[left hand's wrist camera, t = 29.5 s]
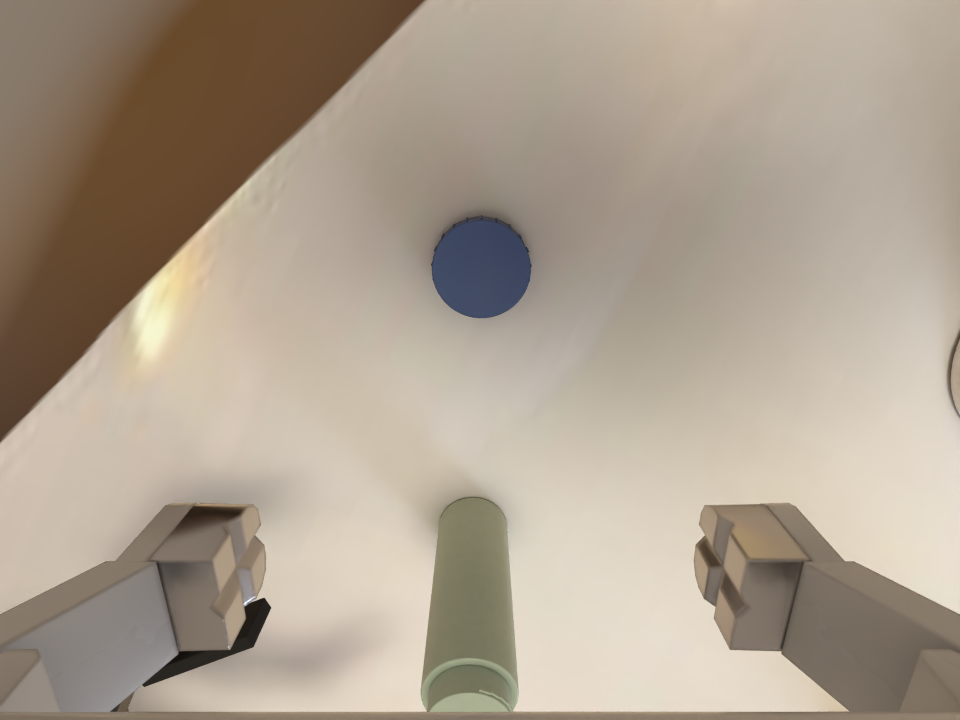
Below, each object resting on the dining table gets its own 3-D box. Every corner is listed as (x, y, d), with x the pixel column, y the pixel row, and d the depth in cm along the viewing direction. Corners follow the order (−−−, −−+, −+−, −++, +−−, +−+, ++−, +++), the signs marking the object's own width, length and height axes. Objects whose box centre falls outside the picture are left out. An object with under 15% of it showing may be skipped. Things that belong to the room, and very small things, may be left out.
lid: (448, 202, 34) (447, 204, 32) (542, 233, 35) (546, 237, 33) (422, 295, 36) (419, 302, 34) (511, 322, 37) (513, 331, 35)
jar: (492, 561, 44) (497, 770, 29) (430, 541, 43) (403, 745, 28) (517, 509, 42) (537, 703, 27) (452, 488, 41) (437, 675, 27)
